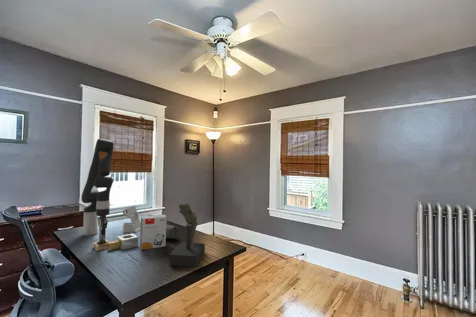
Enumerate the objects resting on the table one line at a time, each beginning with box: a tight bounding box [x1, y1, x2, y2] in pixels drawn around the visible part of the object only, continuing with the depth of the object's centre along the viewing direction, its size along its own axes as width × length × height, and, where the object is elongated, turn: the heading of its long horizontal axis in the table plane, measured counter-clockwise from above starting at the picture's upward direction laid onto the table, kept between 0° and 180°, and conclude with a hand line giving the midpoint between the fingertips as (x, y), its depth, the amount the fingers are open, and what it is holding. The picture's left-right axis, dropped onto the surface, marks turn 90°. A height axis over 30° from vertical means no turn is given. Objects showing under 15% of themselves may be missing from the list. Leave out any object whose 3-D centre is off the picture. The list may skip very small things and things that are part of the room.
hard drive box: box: [139, 214, 167, 251], centre depth 151 cm, size 16×8×20 cm, turn 117°
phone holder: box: [122, 205, 141, 234], centre depth 188 cm, size 17×10×18 cm, turn 174°
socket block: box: [116, 233, 139, 251], centre depth 151 cm, size 10×10×6 cm
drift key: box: [107, 240, 120, 251], centre depth 146 cm, size 2×9×4 cm, turn 135°
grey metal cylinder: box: [98, 224, 107, 245], centre depth 148 cm, size 4×4×14 cm
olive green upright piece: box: [178, 203, 198, 243], centre depth 150 cm, size 14×7×30 cm, turn 71°
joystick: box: [168, 223, 206, 268], centre depth 132 cm, size 19×17×20 cm
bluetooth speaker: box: [166, 224, 178, 240], centre depth 169 cm, size 23×9×10 cm, turn 68°
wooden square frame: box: [92, 239, 110, 252], centre depth 148 cm, size 8×8×3 cm
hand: (102, 234), depth 148 cm, fingers closed on grey metal cylinder, 3 cm apart
